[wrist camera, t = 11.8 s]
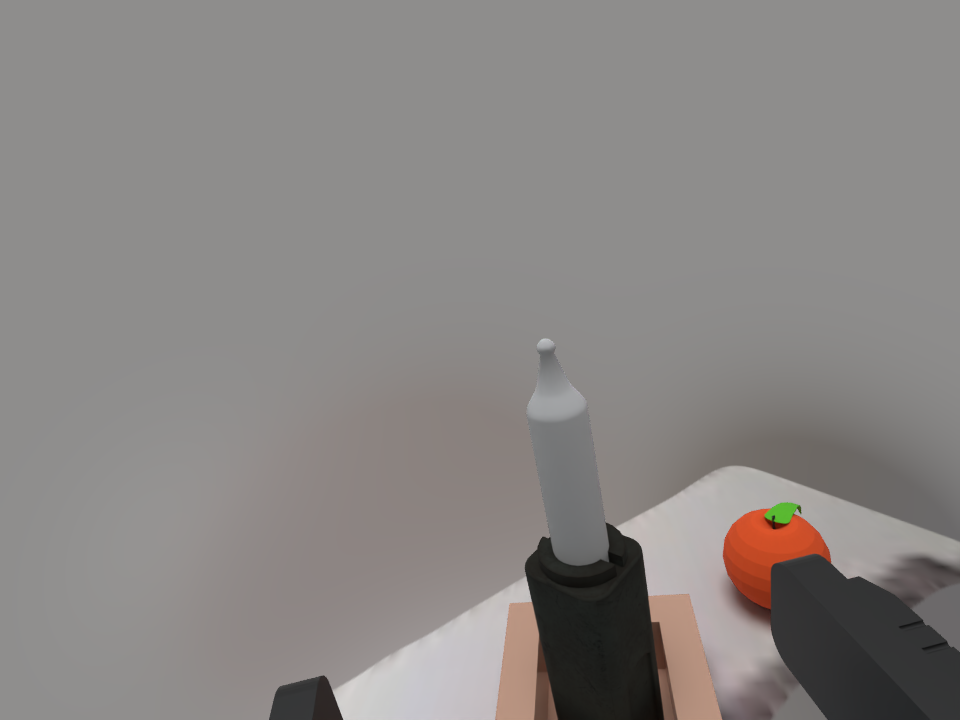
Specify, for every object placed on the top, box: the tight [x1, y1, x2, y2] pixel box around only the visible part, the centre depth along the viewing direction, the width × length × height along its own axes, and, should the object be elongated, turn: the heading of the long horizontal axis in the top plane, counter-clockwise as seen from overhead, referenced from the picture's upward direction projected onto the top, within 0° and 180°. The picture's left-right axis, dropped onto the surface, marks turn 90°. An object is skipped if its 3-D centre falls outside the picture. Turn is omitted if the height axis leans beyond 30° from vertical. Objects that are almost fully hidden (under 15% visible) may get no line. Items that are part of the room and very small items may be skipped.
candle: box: [525, 339, 664, 720], centre depth 30 cm, size 5×5×25 cm
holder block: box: [495, 594, 722, 720], centre depth 34 cm, size 12×12×5 cm
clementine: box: [723, 503, 831, 609], centre depth 41 cm, size 8×7×7 cm
